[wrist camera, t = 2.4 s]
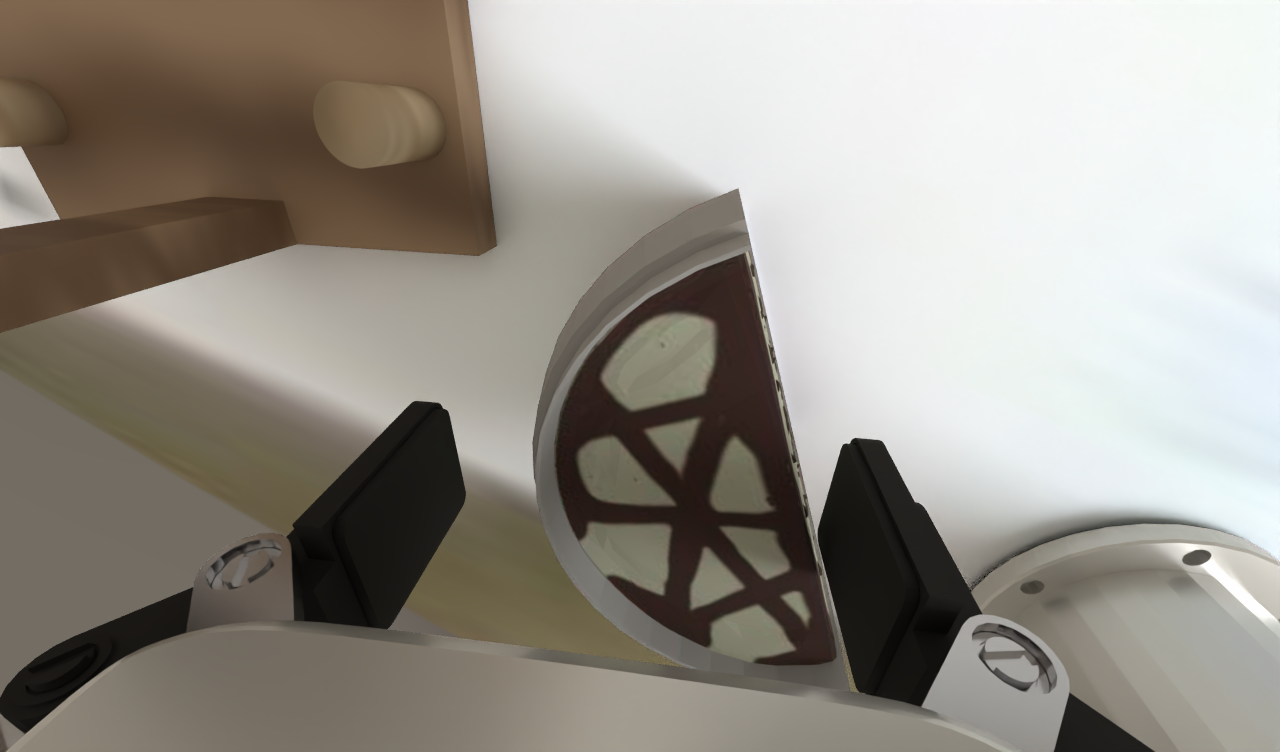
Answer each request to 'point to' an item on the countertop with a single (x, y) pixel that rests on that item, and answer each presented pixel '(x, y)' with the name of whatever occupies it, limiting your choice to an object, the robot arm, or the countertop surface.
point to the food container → (685, 461)
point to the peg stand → (233, 138)
